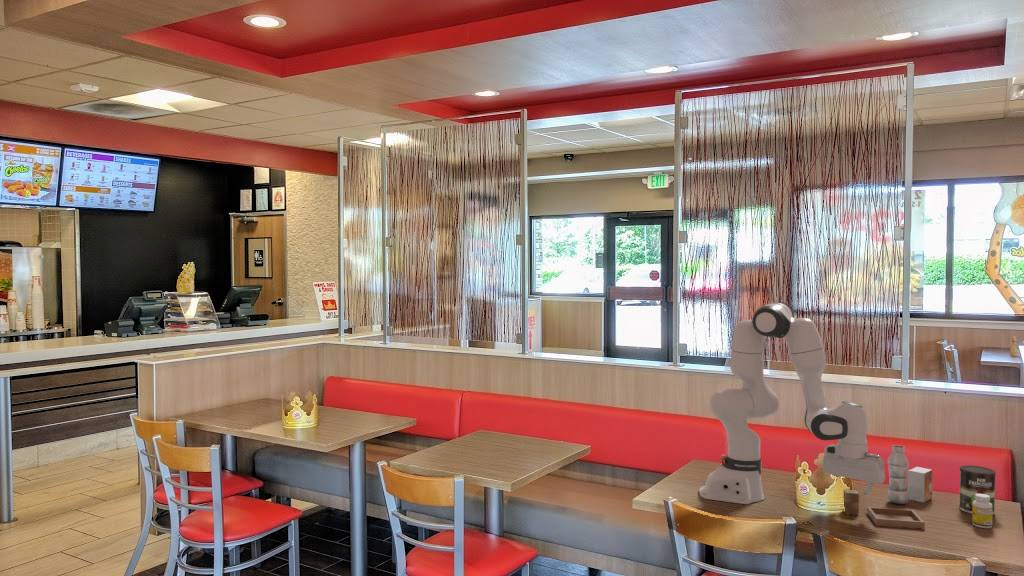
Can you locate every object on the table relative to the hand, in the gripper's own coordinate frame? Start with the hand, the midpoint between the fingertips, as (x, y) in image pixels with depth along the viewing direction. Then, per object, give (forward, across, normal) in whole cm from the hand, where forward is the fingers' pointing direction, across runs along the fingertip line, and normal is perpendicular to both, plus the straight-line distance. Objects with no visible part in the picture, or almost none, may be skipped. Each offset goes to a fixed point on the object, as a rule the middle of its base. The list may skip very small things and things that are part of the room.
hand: (853, 491), depth 244 cm
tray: (+8, -12, -4) cm, 15 cm away
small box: (+7, -6, -34) cm, 35 cm away
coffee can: (+8, -23, -37) cm, 44 cm away
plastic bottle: (+7, -3, -23) cm, 24 cm away
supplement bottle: (+8, -30, -22) cm, 38 cm away
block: (+7, +1, 0) cm, 7 cm away
